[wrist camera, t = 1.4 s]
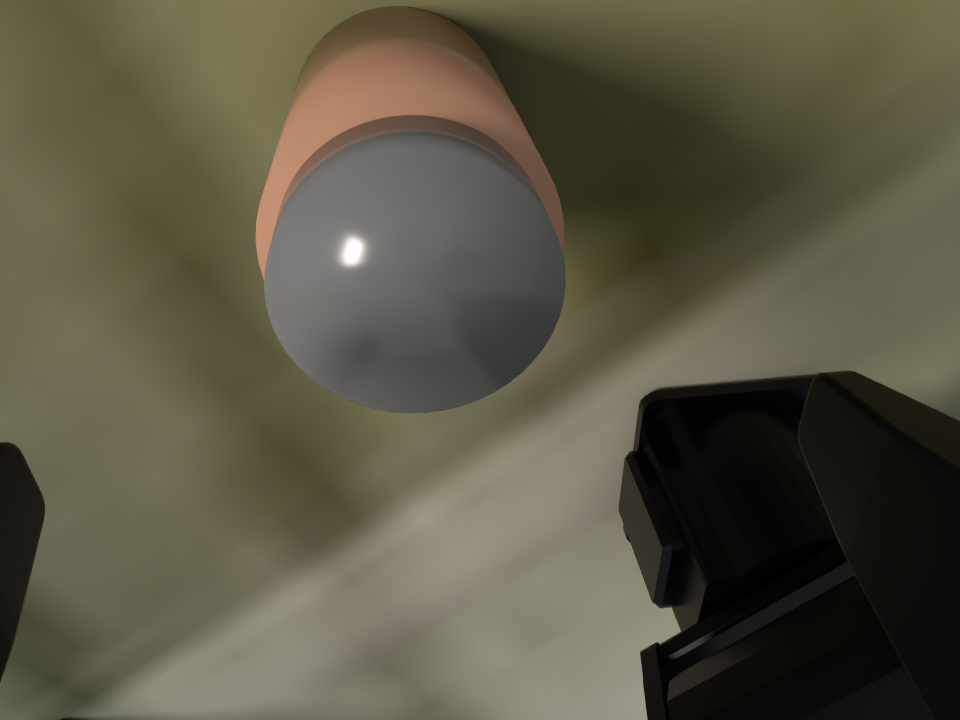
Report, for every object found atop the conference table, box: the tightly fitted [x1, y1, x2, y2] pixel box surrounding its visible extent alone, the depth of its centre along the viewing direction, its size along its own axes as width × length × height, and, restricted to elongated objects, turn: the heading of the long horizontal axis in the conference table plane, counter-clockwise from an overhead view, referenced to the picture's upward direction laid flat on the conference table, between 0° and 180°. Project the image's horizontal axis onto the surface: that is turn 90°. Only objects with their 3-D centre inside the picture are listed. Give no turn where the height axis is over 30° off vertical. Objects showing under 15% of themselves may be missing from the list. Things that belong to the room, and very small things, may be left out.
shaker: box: [256, 6, 565, 413], centre depth 15 cm, size 5×5×8 cm
